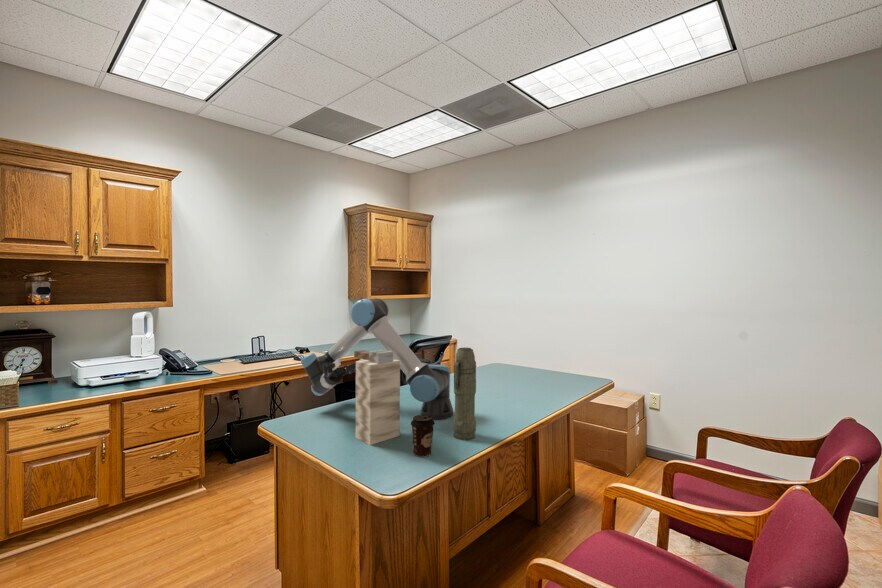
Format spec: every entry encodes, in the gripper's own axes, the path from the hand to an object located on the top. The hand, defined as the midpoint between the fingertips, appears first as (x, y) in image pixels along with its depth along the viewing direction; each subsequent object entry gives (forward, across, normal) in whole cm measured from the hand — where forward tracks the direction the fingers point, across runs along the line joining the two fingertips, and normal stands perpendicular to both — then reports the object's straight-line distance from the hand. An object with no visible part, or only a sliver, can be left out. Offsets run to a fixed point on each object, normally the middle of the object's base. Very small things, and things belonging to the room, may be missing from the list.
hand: (353, 359), depth 173 cm
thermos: (+20, -26, -45) cm, 55 cm away
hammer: (+12, 0, -5) cm, 13 cm away
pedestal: (0, 0, -33) cm, 33 cm away
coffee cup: (+21, -3, -46) cm, 50 cm away
